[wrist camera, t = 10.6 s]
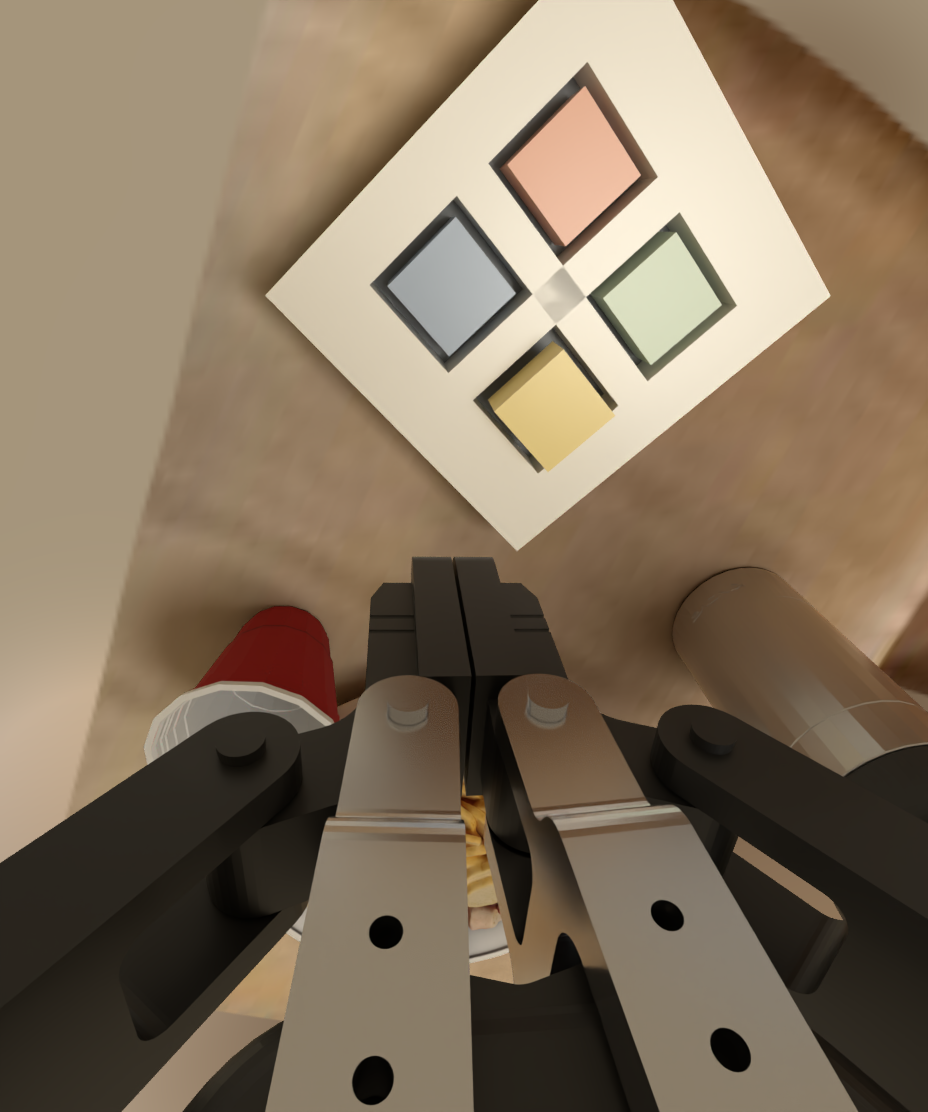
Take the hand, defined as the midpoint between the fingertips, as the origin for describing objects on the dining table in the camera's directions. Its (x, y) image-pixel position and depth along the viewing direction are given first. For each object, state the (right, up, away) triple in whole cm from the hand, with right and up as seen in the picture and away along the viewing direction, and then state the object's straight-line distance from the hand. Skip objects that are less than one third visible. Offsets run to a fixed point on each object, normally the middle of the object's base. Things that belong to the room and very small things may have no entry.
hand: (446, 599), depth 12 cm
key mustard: (+5, +9, +22) cm, 24 cm away
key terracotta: (+5, +19, +19) cm, 28 cm away
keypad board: (+5, +16, +23) cm, 28 cm away
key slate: (0, +15, +21) cm, 25 cm away
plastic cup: (-12, -5, +32) cm, 35 cm away
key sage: (+10, +15, +22) cm, 28 cm away
